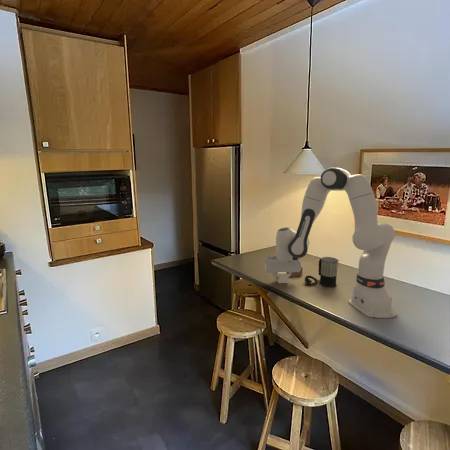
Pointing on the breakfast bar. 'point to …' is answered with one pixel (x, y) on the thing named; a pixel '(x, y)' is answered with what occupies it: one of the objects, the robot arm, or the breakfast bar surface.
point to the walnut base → (296, 273)
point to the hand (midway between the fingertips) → (282, 279)
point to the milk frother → (326, 272)
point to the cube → (282, 277)
